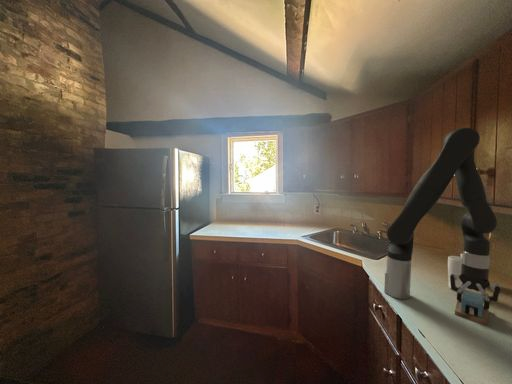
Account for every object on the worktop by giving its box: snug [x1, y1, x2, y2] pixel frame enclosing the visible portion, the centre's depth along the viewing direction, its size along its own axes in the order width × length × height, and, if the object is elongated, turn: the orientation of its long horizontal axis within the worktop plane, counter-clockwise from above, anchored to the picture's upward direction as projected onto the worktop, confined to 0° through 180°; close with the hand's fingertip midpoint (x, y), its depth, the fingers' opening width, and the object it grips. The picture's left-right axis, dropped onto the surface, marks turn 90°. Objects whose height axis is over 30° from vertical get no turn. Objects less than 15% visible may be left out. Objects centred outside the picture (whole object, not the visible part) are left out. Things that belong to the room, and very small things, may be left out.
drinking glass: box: [447, 255, 462, 292], centre depth 103 cm, size 7×7×15 cm
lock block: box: [461, 289, 484, 318], centre depth 85 cm, size 10×6×5 cm, turn 134°
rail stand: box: [454, 299, 490, 326], centre depth 86 cm, size 9×12×4 cm
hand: (472, 305), depth 86 cm, fingers open, 6 cm apart
